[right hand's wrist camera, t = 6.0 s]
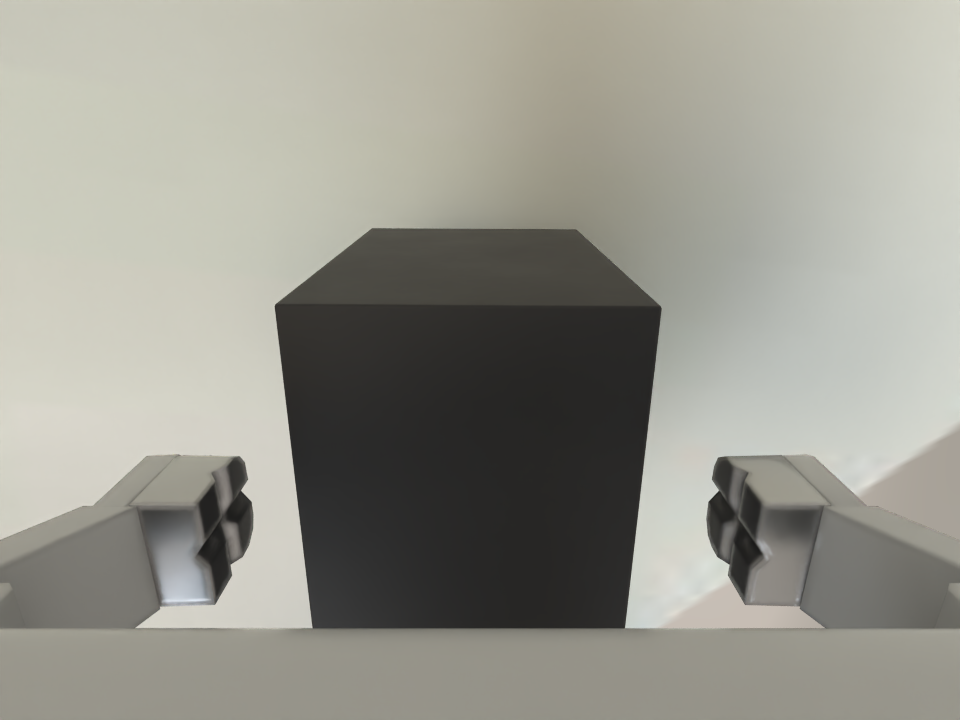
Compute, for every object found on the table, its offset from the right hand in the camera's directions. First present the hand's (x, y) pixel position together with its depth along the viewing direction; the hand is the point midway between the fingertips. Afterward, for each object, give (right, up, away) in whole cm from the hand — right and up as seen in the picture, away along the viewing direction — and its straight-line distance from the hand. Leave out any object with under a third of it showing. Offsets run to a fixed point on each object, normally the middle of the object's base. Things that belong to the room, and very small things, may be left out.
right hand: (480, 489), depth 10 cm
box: (0, -4, +12) cm, 13 cm away
